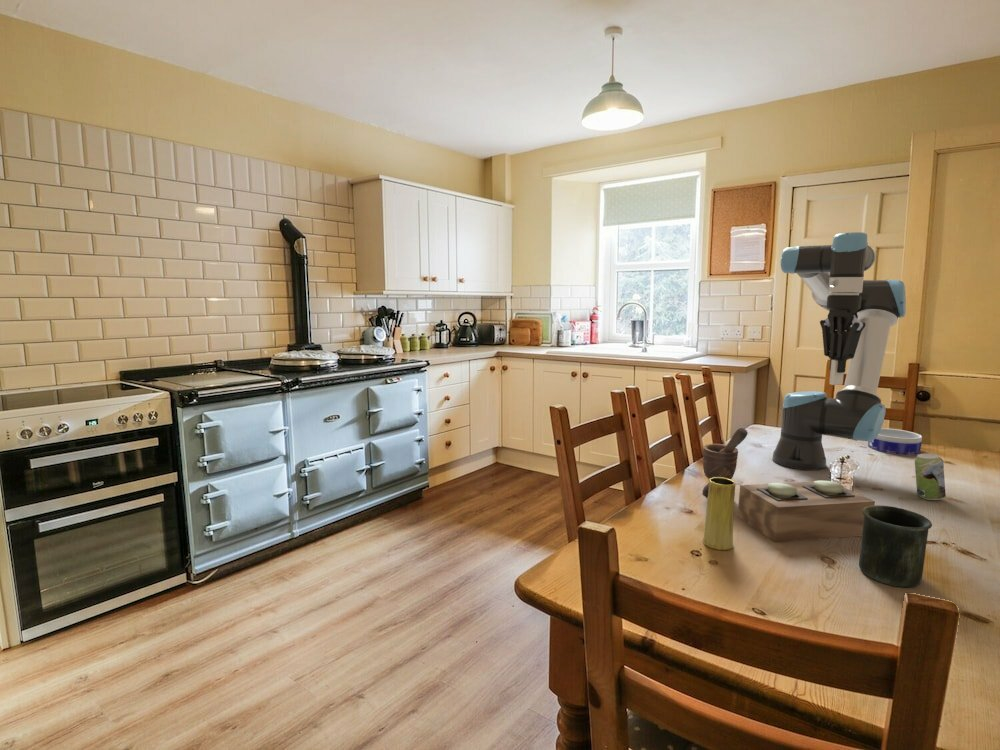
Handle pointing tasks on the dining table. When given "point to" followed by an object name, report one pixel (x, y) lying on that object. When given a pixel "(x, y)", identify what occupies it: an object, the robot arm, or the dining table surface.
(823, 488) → the peg
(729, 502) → the vase
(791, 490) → the peg
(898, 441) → the dog bowl
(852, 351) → the robot arm
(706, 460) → the mortar and pestle
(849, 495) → the socket block
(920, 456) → the beverage can
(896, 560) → the mug
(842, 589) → the dining table surface
